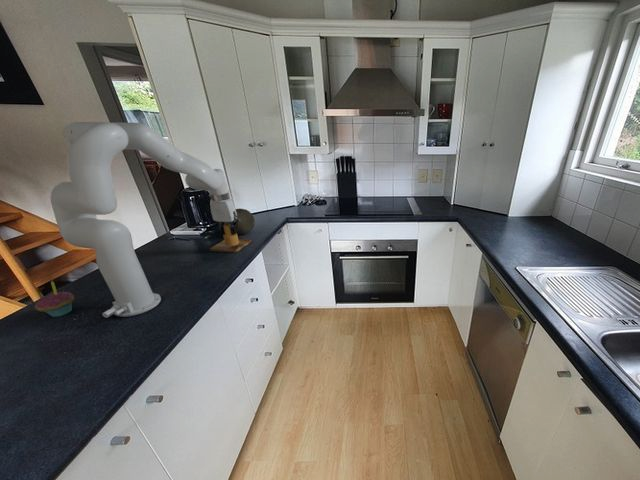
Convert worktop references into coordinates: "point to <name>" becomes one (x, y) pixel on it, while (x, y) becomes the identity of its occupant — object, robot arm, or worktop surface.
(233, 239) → the squash
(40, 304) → the cupcake
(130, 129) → the robot arm
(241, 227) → the cantaloupe
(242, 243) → the board
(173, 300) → the worktop surface
